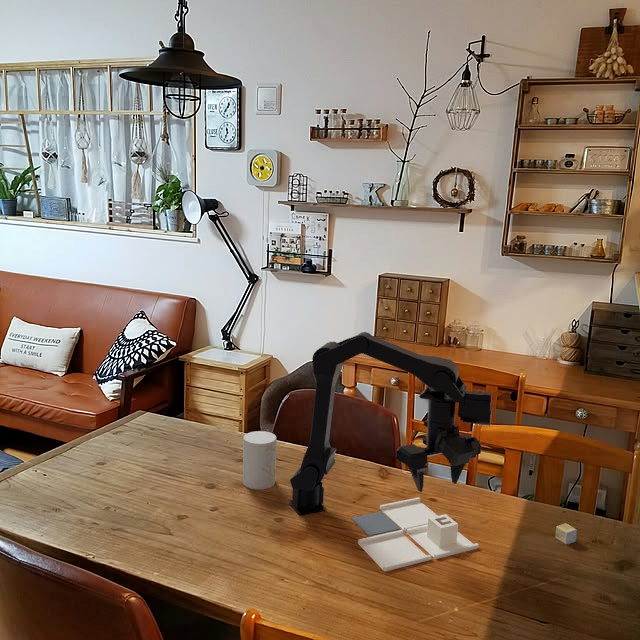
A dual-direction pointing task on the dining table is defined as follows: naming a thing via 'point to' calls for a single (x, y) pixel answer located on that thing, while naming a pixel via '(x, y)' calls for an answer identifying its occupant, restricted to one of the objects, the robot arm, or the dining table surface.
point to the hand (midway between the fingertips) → (437, 487)
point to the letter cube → (442, 530)
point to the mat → (375, 523)
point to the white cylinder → (259, 459)
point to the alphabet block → (566, 533)
